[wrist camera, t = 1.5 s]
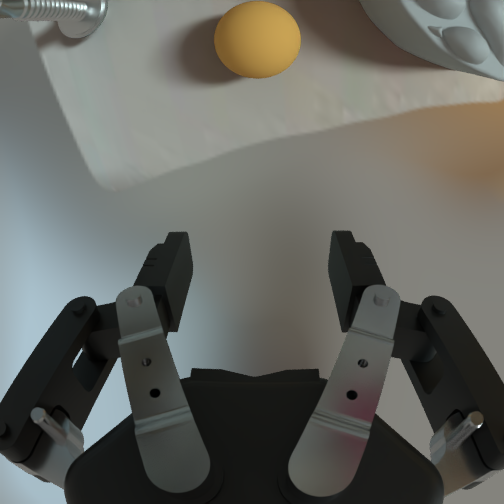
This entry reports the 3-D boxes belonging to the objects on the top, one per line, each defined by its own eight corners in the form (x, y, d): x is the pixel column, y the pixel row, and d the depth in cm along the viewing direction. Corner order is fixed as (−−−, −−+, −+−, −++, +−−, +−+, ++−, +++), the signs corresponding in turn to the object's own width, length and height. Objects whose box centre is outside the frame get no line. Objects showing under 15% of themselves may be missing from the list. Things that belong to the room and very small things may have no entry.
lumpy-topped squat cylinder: (471, 82, 21) (531, 102, 14) (345, 32, 20) (382, 24, 13) (486, -8, 15) (546, -10, 8) (362, -66, 15) (398, -102, 7)
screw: (122, -12, 18) (109, 39, 21) (76, -11, 17) (65, 37, 20) (29, -37, 7) (9, 45, 10) (-25, -22, 7) (-40, 51, 9)
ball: (218, 9, 20) (205, -3, 15) (295, 7, 19) (304, -6, 15) (221, 77, 23) (210, 83, 18) (296, 76, 23) (306, 82, 18)
